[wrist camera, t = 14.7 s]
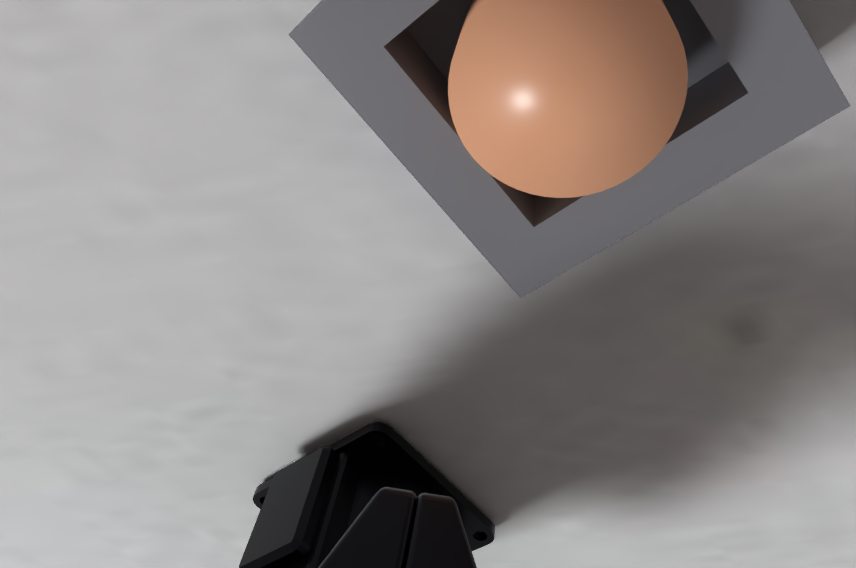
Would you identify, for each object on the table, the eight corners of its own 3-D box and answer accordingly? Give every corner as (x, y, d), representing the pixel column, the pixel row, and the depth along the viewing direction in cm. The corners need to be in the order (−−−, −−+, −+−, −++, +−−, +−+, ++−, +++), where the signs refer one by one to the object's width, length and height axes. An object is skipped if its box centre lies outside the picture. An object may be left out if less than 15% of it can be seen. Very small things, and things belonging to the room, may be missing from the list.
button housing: (808, 58, 18) (850, 105, 15) (523, 236, 21) (520, 298, 19) (614, -270, 15) (628, -277, 12) (323, -2, 18) (288, 35, 16)
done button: (705, 62, 17) (733, 113, 14) (538, 173, 19) (537, 235, 16) (591, -113, 15) (600, -90, 13) (421, 27, 17) (400, 71, 15)
